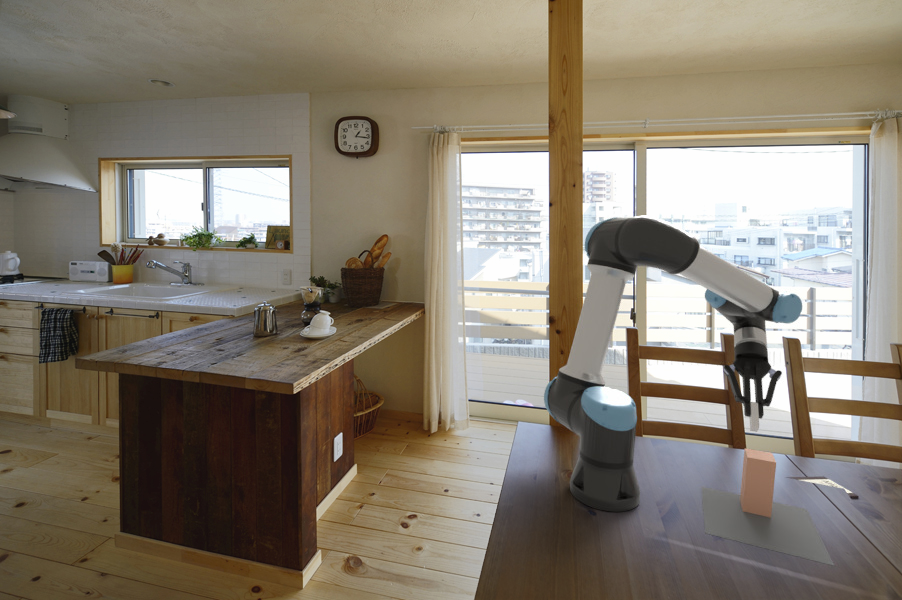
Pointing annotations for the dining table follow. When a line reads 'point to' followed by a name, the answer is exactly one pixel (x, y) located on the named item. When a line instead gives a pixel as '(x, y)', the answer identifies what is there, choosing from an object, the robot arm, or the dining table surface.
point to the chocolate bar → (824, 483)
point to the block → (757, 482)
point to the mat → (763, 526)
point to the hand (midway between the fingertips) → (754, 428)
